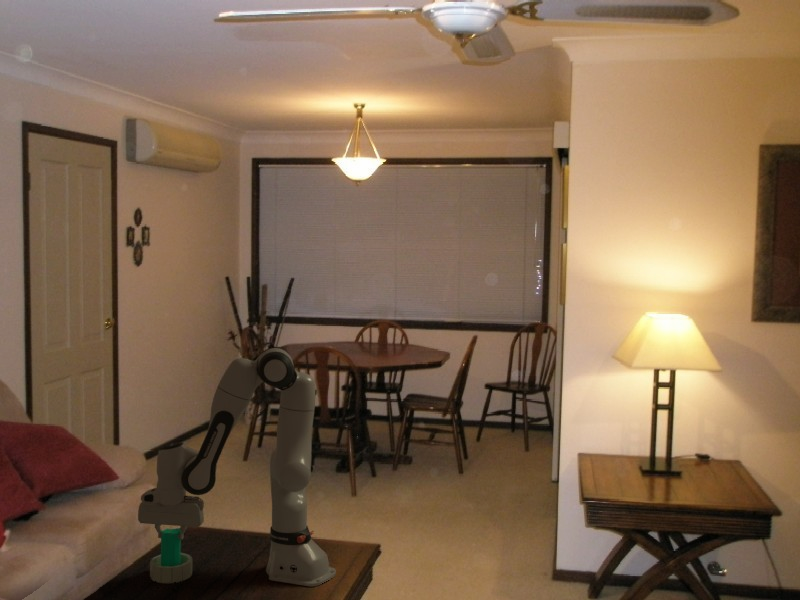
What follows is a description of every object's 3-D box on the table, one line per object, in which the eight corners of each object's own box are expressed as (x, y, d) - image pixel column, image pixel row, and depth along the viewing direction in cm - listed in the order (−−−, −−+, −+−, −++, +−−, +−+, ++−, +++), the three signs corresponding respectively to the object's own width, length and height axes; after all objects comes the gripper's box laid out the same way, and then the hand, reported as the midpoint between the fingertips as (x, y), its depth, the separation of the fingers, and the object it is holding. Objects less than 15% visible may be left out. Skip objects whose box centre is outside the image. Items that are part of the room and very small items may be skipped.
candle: (184, 562, 267) (185, 524, 266) (172, 568, 261) (173, 530, 260) (168, 559, 269) (169, 522, 268) (156, 565, 263) (157, 527, 262)
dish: (200, 572, 268) (200, 557, 267) (172, 586, 257) (172, 571, 257) (170, 564, 274) (170, 549, 273) (142, 577, 263) (141, 562, 262)
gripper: (207, 493, 265) (206, 536, 266) (144, 489, 267) (144, 532, 268) (200, 500, 259) (199, 544, 260) (135, 495, 261) (135, 539, 262)
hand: (170, 538), depth 264 cm, fingers closed on candle, 5 cm apart
